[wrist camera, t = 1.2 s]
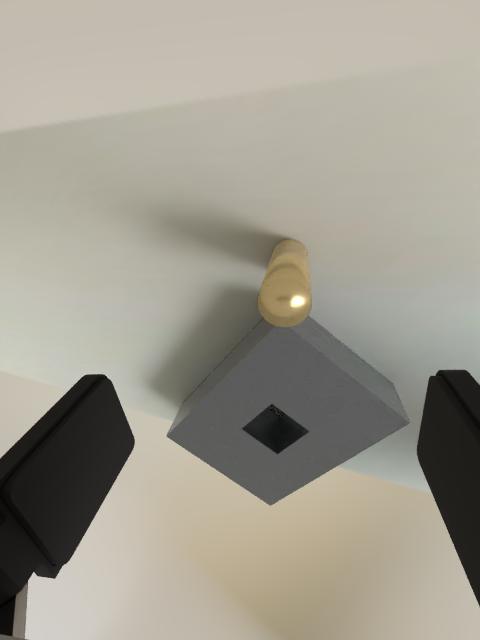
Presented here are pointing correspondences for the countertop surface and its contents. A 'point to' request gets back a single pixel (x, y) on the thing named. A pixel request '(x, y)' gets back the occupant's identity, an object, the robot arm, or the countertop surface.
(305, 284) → the brass pin
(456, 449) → the robot arm
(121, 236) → the countertop surface
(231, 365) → the block
